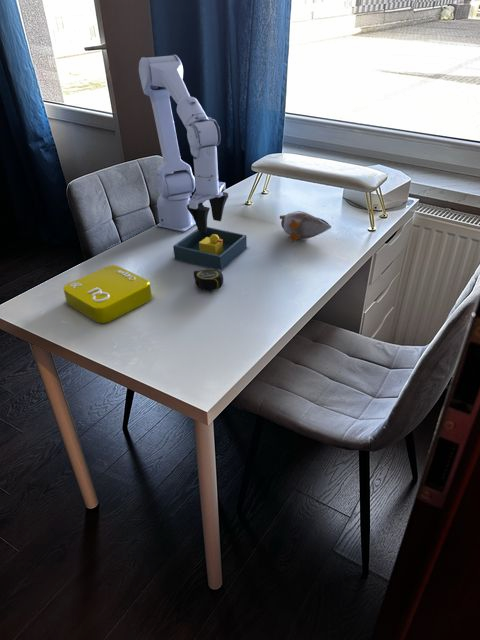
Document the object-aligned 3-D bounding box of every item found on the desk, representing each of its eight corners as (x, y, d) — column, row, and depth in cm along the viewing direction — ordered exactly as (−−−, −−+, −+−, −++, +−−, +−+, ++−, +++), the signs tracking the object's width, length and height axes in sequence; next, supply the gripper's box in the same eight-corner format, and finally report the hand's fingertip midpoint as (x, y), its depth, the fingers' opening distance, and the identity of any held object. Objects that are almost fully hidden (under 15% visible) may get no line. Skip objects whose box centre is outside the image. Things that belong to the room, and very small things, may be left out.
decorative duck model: (279, 202, 148) (331, 201, 147) (280, 227, 152) (330, 227, 151) (276, 217, 136) (332, 217, 134) (276, 244, 140) (331, 244, 138)
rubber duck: (199, 253, 135) (198, 234, 132) (207, 247, 138) (206, 229, 135) (219, 258, 133) (217, 239, 130) (226, 251, 136) (225, 233, 133)
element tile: (155, 298, 118) (153, 280, 115) (102, 326, 109) (97, 308, 106) (116, 278, 126) (113, 261, 123) (63, 302, 117) (58, 285, 114)
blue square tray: (174, 259, 134) (173, 245, 131) (202, 238, 144) (201, 225, 141) (220, 270, 129) (220, 256, 126) (246, 248, 139) (246, 235, 136)
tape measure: (221, 278, 125) (221, 265, 123) (225, 292, 120) (224, 278, 118) (194, 281, 125) (193, 267, 122) (196, 295, 119) (195, 281, 117)
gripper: (204, 185, 117) (208, 239, 125) (234, 167, 127) (236, 218, 136) (179, 181, 120) (184, 234, 128) (210, 163, 130) (214, 213, 138)
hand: (209, 225), depth 132 cm, fingers open, 7 cm apart
